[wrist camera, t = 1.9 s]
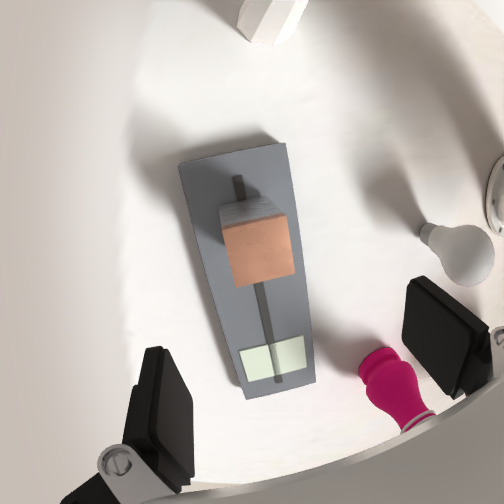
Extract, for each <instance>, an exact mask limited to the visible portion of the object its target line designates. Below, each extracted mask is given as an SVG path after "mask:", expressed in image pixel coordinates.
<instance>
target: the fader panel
mask: <svg viewBox="0 0 504 504" xmlns="http://www.w3.org/2000/svg"><path fill="white" fill-rule="evenodd" d="M178 168H179V172H180V177H181V181H182V185H183V189H184V193H185V197H186V201H187V205H188V209H189V213H190V217H191V221H192V224H193V228H194V232H195V236H196V239H197V243H198V247H199V250H200V254H201V258H202V261H203V265H204V268H205V272H206V275H207V279H208V282H209V286H210V289H211V293H212V296H213V299H214V303H215V306H216V309H217V313H218V316H219V319H220V322H221V326H222V329H223V332H224V335H225V338H226V341H227V345H228V348H229V351H230V354H231V357H232V360H233V363H234V366H235V369H236V372H237V375H238V378H239V381H240V384H241V387H242V390H243V393H244V395H245V398H246V400H248V399H253V398H257V397H262V396H266V395H270V394H274V393H278V392H282V391H286V390H290V389H294V388H297V387H301V386H305V385H308V384H311V383H315V382H316V377H315V364H314V352H313V341H312V331H311V321H310V311H309V302H308V293H307V284H306V276H305V268H304V260H303V252H302V245H301V238H300V230H299V223H298V217H297V210H296V203H295V197H294V191H293V184H292V178H291V172H290V166H289V160H288V155H287V149H286V143H276V144H270V145H264V146H259V147H253V148H248V149H243V150H238V151H233V152H228V153H224V154H219V155H215V156H210V157H206V158H202V159H198V160H193V161H189V162H185V163H182V164H179V165H178ZM261 196H267V197H268V198H269V199H270V200H271V201H272V202H273V203H274V204H275V205H276V206H277V207H278V208H279V209H280V210H281V211H282V212H283V213H284V214H285V215H286V216H287V222H288V229H289V235H290V242H291V248H292V255H293V262H294V269H295V274H291V275H287V276H283V277H279V278H275V279H271V280H267V281H262V282H258V283H254V284H250V285H245V286H241V287H237V288H236V287H235V283H234V279H233V274H232V270H231V266H230V262H229V258H228V254H227V250H226V246H225V242H224V237H223V233H222V228H221V221H220V214H219V207H218V206H220V205H225V204H229V203H234V202H238V201H243V200H247V199H252V198H256V197H261Z"/></svg>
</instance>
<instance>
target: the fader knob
mask: <svg viewBox="0 0 504 504" xmlns="http://www.w3.org/2000/svg"><path fill="white" fill-rule="evenodd" d="M218 207H219V214H220V221H221V228H222V233H223V237H224V242H225V246H226V250H227V254H228V258H229V262H230V266H231V270H232V274H233V279H234V283H235V287H236V288H237V287H241V286H245V285H250V284H254V283H258V282H262V281H267V280H271V279H275V278H279V277H283V276H287V275H291V274H295V269H294V262H293V255H292V248H291V242H290V235H289V229H288V222H287V216H286V215H285V214H284V213H283V212H282V211H281V210H280V209H279V208H278V207H277V206H276V205H275V204H274V203H273V202H272V201H271V200H270V199H269V198H268V197H267V196H261V197H256V198H252V199H247V200H243V201H238V202H234V203H229V204H225V205H220V206H218Z"/></svg>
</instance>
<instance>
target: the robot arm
mask: <svg viewBox="0 0 504 504" xmlns="http://www.w3.org/2000/svg"><path fill="white" fill-rule="evenodd" d="M486 212H487V219H488V223H489V225H490V228H491V230H492V231H493V232H494V233H495V234H497V235H499V236H502V237H504V156H503V157H501V158H500V159H499V160H498V161H497V163H496V164H495V166H494V168H493V170H492V173H491V176H490V179H489V183H488V188H487V195H486ZM488 329H489V326H487V325H486V324H485V323H484V322H483V321H481V320H480V319H479V318H478V317H477V316H475V315H474V314H473V313H472V312H471V311H469V310H468V309H467V308H466V307H464V306H463V305H462V304H461V303H459V302H458V301H457V300H456V299H454V298H453V297H452V296H450V295H449V294H448V293H447V292H445V291H444V290H443V289H441V288H440V287H439V286H437V285H436V284H435V283H434V282H432V281H431V280H430V279H428V278H427V277H425V276H419V277H417V278H414V279H412V280H410V282H409V284H408V285H407V291H406V302H405V312H404V321H403V329H402V341H403V343H404V345H405V346H406V347H407V348H408V349H409V351H410V352H411V353H412V354H413V355H414V356H415V358H416V359H417V360H418V361H419V362H420V364H421V365H422V366H423V367H424V368H425V370H426V371H427V372H428V373H429V374H430V376H431V377H432V378H433V379H434V381H435V382H436V383H437V384H438V386H439V387H440V388H441V389H442V391H443V392H444V393H445V394H446V395H450V396H451V398H452V399H453V400H455V399H457V398H458V397H460V396H461V395H463V394H464V392H465V393H466V394H467V397H466V398H465V399H463V400H462V401H460V402H459V403H457V404H455V405H454V406H452V407H451V408H449V409H447V410H446V411H444V412H442V413H440V414H439V415H437V416H435V417H433V418H432V419H430V420H428V421H426V422H424V423H422V424H421V425H419V426H417V427H415V428H413V429H411V430H409V431H407V432H405V433H403V434H401V435H399V436H397V437H394V438H392V439H390V440H388V441H386V442H383V443H381V444H379V445H376V446H374V447H372V448H369V449H367V450H364V451H362V452H359V453H357V454H354V455H351V456H349V457H346V458H343V459H340V460H337V461H334V462H331V463H328V464H325V465H322V466H319V467H315V468H312V469H309V470H305V471H302V472H298V473H294V474H290V475H286V476H282V477H278V478H273V479H269V480H264V481H259V482H254V483H249V484H243V485H237V486H232V487H225V488H217V489H209V490H202V491H194V492H186V493H180V492H181V491H182V490H181V486H185V485H191V484H190V478H193V477H194V475H195V469H194V435H193V400H192V396H191V394H190V392H189V390H188V388H187V387H186V385H185V383H184V381H183V379H182V377H181V375H180V373H179V371H178V369H177V367H176V365H175V363H174V360H173V358H172V356H171V354H170V352H169V350H168V349H163V347H162V346H156V347H151V348H146V350H145V354H144V358H143V363H142V367H141V372H140V377H139V381H138V385H134V386H133V389H132V392H131V397H130V402H129V407H128V412H127V417H126V423H125V428H124V434H123V440H122V444H116V445H112V446H110V447H108V448H106V449H105V450H104V451H103V452H102V453H101V455H100V456H99V459H98V462H97V468H98V471H99V472H98V473H97V474H96V475H94V476H93V477H92V478H90V479H89V480H88V481H86V482H85V483H84V484H82V485H81V486H80V487H78V488H77V489H76V490H74V491H73V492H71V493H70V494H69V495H67V496H66V497H65V498H64V499H63V500H62V501H61V503H60V504H504V326H501V327H497V328H495V329H494V330H492V332H491V334H490V333H489V332H488Z"/></svg>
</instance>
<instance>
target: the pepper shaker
mask: <svg viewBox="0 0 504 504" xmlns="http://www.w3.org/2000/svg"><path fill="white" fill-rule="evenodd" d="M308 2H309V0H245V1H244V3H243V5H242V7H241V8H240V12H239V17H238V22H237V28H238V29H239V30H240V31H241V32H242V33H243V34H244V36H245V37H246V38H247V39H248V40H249V41H250V42H252V43H258V44H264V45H269V46H275V45H276V44H278V43H280V42H282V41H284V40H285V39H287V38H289V37H291V35H292V33H293V31H294V29H295V27H296V25H297V23H298V21H299V19H300V17H301V15H302V13H303V11H304V10H305V8H306V6H307V4H308Z"/></svg>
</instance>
